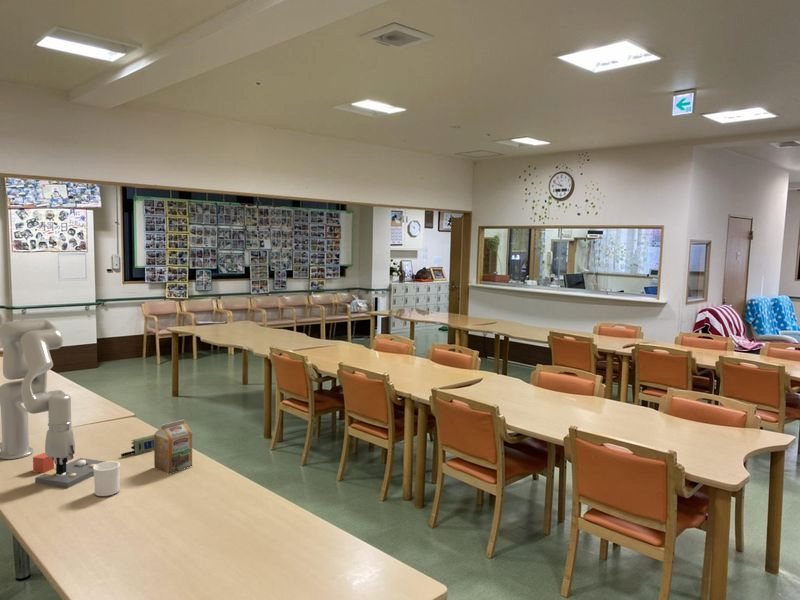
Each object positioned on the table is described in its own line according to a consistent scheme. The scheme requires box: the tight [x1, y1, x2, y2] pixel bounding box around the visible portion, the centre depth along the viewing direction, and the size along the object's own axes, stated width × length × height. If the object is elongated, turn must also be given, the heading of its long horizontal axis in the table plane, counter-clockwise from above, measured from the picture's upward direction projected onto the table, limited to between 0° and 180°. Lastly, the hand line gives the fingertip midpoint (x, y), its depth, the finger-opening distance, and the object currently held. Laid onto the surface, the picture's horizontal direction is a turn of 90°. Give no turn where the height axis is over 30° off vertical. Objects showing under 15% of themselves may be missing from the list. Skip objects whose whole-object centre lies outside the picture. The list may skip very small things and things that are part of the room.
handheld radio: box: [120, 434, 154, 457], centre depth 256 cm, size 7×3×25 cm
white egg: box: [77, 460, 86, 467], centre depth 232 cm, size 3×3×2 cm
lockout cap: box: [32, 452, 55, 474], centre depth 231 cm, size 5×5×6 cm
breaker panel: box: [34, 457, 106, 489], centre depth 227 cm, size 15×22×3 cm
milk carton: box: [153, 419, 193, 475], centre depth 237 cm, size 11×11×19 cm
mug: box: [93, 460, 121, 499], centre depth 212 cm, size 11×9×10 cm
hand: (61, 473), depth 222 cm, fingers closed
